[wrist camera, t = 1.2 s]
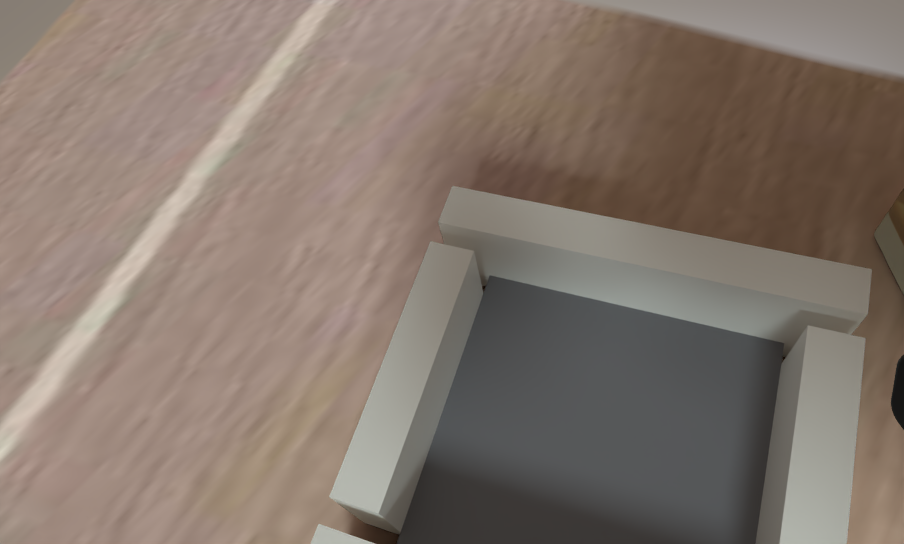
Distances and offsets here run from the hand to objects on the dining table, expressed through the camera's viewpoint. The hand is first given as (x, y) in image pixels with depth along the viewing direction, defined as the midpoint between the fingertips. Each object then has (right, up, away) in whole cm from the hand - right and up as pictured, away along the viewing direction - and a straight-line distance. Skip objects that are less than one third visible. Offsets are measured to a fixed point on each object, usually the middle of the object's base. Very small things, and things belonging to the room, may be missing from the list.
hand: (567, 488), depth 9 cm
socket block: (+3, -3, +15) cm, 16 cm away
